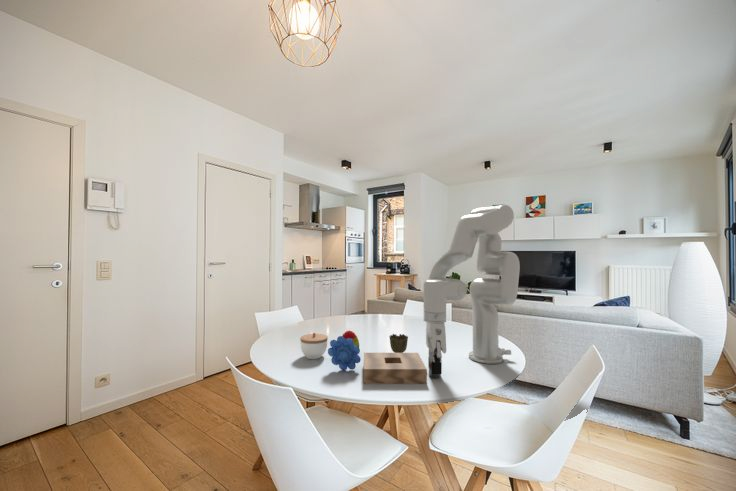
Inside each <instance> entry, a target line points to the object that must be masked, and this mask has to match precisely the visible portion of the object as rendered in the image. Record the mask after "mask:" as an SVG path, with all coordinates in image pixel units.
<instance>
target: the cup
mask: <svg viewBox="0 0 736 491" xmlns="http://www.w3.org/2000/svg"><path fill="white" fill-rule="evenodd" d="M408 338H409V336H408V335H405V334H402V333H399V335H397V334H396V333H392V334H390V335H389V345H390V349H391V351H392V353H406V352H405V351H406V350H407V347H408Z"/></svg>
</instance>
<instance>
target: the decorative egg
mask: <svg viewBox="0 0 736 491" xmlns="http://www.w3.org/2000/svg"><path fill="white" fill-rule="evenodd" d="M342 336H343V337H344V338H345V341H346V339H348V338H350V339H352V340H353V341H354V345H355V346H358V347H359V348H360V342H359V341H360V340H359V339H358V336H357V334H356V333H355V332H354V331H352V330H346V331H345V332H344V333H343V334H342ZM354 345H353V346H354Z"/></svg>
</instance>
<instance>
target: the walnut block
mask: <svg viewBox="0 0 736 491" xmlns="http://www.w3.org/2000/svg"><path fill="white" fill-rule="evenodd" d="M427 372H428V371H427V367H426V366H425V363H424V362H423V360H422V358H421V355H420V354H419V352H403V353H394V352H363V384H367V385H368V384H371V385H372V384H380V385H381V384H387V385H388V384H390V385H391V384H397V385H399V384H401V385H402V384H403V385H404V384H405V385H406V384H408V385H409V384H411V385H413V384H415V385H416V384H419V385H420V384H427V383H428V379H427V377H428V374H427Z"/></svg>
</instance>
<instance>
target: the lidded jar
mask: <svg viewBox="0 0 736 491" xmlns="http://www.w3.org/2000/svg"><path fill="white" fill-rule="evenodd" d="M328 338H329V337H328V336H327V334H323V333H316V332H312V333H309V334H304V335H302V336H300V338H299V339H300V348H301V352H302V354H303V355H304V356H305V358H306V359H309V360H317V359H321V358H322V356H323V355H324V354H325V352H326V351H327V348H328Z"/></svg>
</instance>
